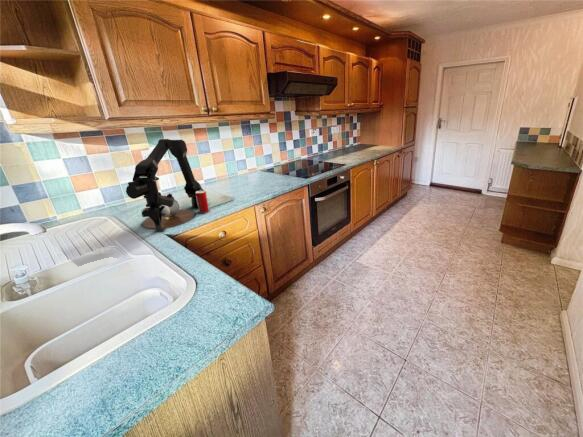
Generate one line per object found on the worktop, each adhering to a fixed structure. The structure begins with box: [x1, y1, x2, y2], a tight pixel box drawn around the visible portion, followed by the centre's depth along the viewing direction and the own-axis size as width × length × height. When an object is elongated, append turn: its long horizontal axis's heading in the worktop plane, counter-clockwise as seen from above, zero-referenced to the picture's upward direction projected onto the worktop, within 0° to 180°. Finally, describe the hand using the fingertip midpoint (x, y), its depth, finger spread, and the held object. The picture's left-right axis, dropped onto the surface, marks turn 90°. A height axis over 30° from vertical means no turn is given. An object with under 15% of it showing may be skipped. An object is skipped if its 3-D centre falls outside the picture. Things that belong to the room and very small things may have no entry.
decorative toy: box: [162, 198, 181, 220], centre depth 135 cm, size 12×10×20 cm
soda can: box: [196, 189, 210, 214], centre depth 141 cm, size 6×6×12 cm
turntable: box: [142, 209, 195, 233], centre depth 133 cm, size 29×25×7 cm
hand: (159, 223), depth 122 cm, fingers closed on turntable, 3 cm apart
